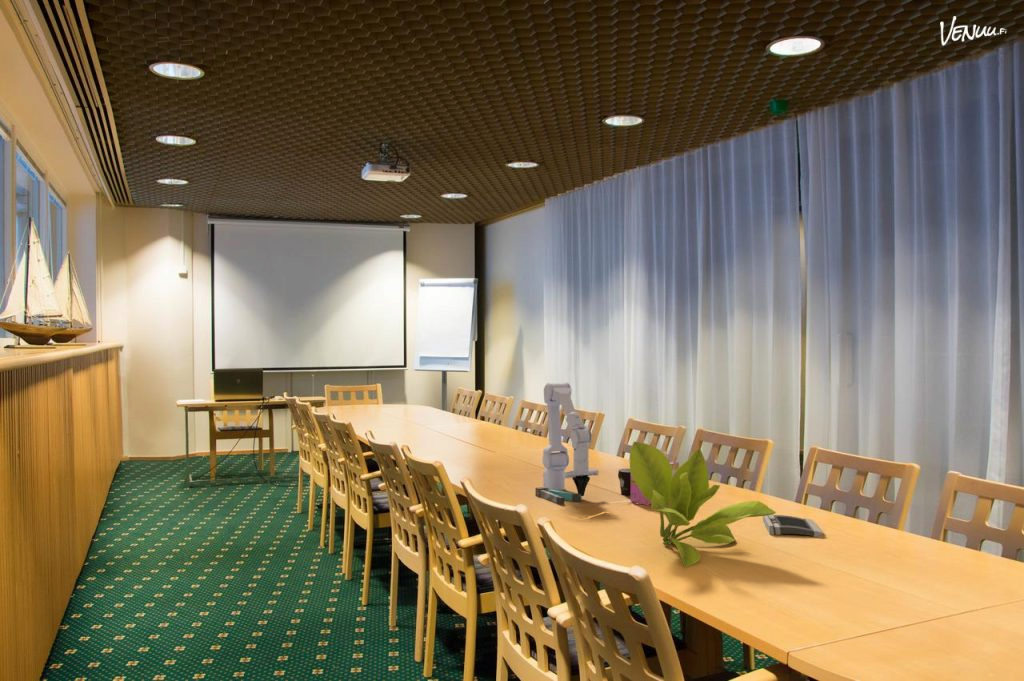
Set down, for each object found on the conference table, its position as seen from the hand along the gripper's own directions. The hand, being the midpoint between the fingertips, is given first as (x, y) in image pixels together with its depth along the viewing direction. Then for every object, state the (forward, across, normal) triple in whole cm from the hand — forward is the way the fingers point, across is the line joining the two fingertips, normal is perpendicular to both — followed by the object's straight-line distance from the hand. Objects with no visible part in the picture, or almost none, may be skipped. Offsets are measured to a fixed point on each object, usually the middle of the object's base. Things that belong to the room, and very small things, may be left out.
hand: (581, 495), depth 288 cm
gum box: (+2, +27, -11) cm, 29 cm away
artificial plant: (+2, -6, -71) cm, 71 cm away
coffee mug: (+2, +23, +1) cm, 23 cm away
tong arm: (+1, -6, +2) cm, 6 cm away
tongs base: (+1, -10, +4) cm, 11 cm away
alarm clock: (+3, +39, -67) cm, 78 cm away
